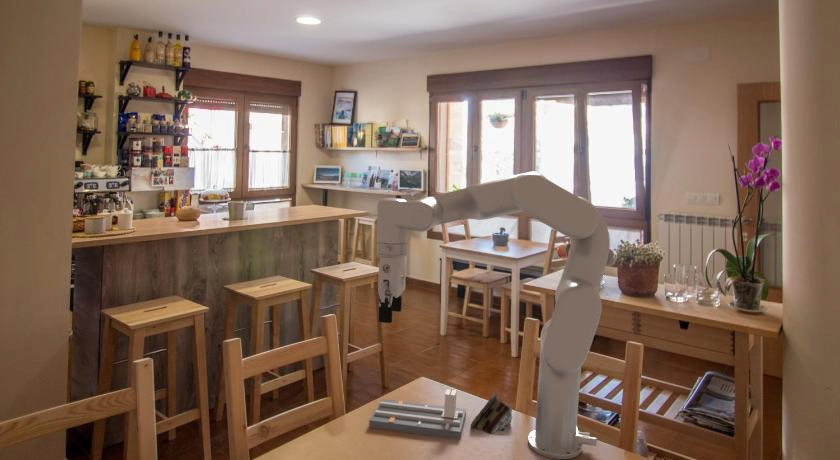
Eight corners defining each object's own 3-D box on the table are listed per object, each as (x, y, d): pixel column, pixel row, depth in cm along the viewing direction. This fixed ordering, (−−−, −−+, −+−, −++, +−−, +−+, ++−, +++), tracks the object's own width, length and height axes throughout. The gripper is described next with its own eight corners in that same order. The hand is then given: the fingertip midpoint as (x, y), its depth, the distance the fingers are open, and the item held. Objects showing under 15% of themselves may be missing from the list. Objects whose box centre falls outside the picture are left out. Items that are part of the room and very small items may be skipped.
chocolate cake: (492, 442, 131) (518, 401, 135) (468, 425, 135) (494, 386, 139) (497, 451, 139) (521, 412, 143) (474, 435, 142) (499, 397, 146)
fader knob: (458, 415, 138) (459, 390, 137) (456, 420, 135) (457, 395, 134) (442, 413, 139) (443, 388, 138) (441, 418, 136) (442, 393, 135)
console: (465, 416, 142) (466, 406, 142) (460, 439, 131) (460, 428, 130) (381, 406, 147) (382, 396, 146) (369, 427, 135) (369, 417, 135)
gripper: (398, 256, 122) (396, 328, 125) (414, 244, 139) (412, 308, 142) (367, 254, 124) (365, 325, 126) (386, 242, 141) (384, 305, 143)
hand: (390, 316), depth 134 cm, fingers open, 9 cm apart
